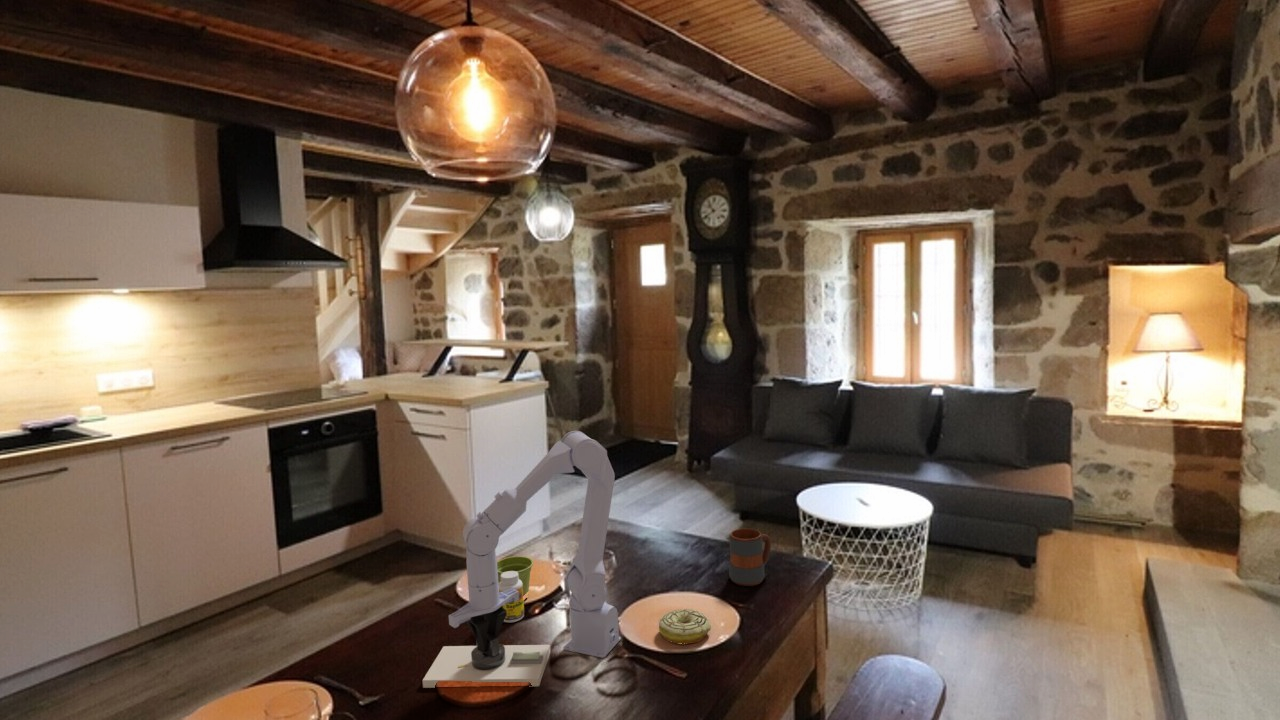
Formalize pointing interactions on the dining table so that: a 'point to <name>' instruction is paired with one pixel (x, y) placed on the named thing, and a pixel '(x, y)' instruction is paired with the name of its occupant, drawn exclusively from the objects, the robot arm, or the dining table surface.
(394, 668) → the dining table surface
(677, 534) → the dining table surface
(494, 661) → the knob
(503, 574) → the supplement bottle
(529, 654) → the base plate
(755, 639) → the dining table surface
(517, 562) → the plant pot
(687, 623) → the decorated donut
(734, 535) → the mug
